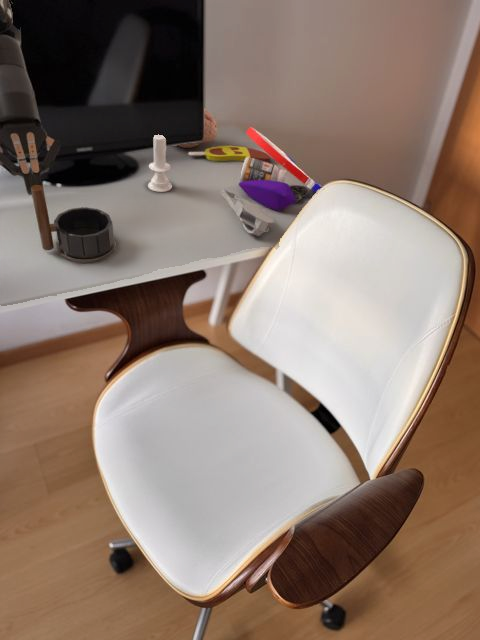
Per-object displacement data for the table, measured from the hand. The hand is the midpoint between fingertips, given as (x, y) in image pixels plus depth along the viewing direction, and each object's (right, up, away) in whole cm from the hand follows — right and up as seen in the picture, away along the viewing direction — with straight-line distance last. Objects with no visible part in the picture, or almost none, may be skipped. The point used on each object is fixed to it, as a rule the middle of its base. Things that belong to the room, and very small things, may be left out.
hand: (36, 196), depth 98 cm
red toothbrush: (+46, +17, +33) cm, 59 cm away
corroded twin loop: (+48, +8, +30) cm, 57 cm away
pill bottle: (+36, +15, +29) cm, 48 cm away
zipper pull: (+38, +4, +17) cm, 42 cm away
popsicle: (+22, +20, +36) cm, 47 cm away
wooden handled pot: (+6, -8, +5) cm, 11 cm away
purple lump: (+35, +11, +27) cm, 45 cm away
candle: (+17, +9, +26) cm, 32 cm away
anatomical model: (+16, +27, +46) cm, 56 cm away
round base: (+7, -8, +6) cm, 12 cm away
